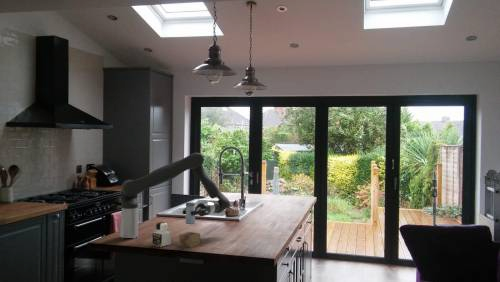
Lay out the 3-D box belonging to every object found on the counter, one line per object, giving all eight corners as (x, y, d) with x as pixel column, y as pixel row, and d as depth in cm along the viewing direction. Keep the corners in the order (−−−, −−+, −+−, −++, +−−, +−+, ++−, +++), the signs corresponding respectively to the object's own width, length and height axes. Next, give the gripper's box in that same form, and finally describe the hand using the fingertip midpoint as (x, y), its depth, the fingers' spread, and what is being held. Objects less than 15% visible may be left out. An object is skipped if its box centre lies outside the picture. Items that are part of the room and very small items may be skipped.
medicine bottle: (152, 245, 228) (152, 222, 228) (161, 242, 234) (162, 221, 234) (161, 247, 224) (161, 224, 224) (171, 244, 230) (171, 222, 230)
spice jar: (183, 223, 229) (183, 202, 229) (189, 222, 234) (189, 201, 234) (191, 224, 226) (191, 203, 226) (196, 223, 231) (197, 202, 231)
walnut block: (179, 245, 228) (179, 234, 228) (188, 242, 235) (188, 231, 235) (191, 247, 224) (191, 236, 224) (200, 244, 231) (200, 233, 231)
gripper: (195, 201, 246) (176, 204, 231) (216, 203, 239) (198, 207, 224) (195, 214, 246) (176, 218, 231) (215, 216, 239) (197, 221, 224)
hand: (187, 213), depth 228 cm, fingers closed on spice jar, 5 cm apart
